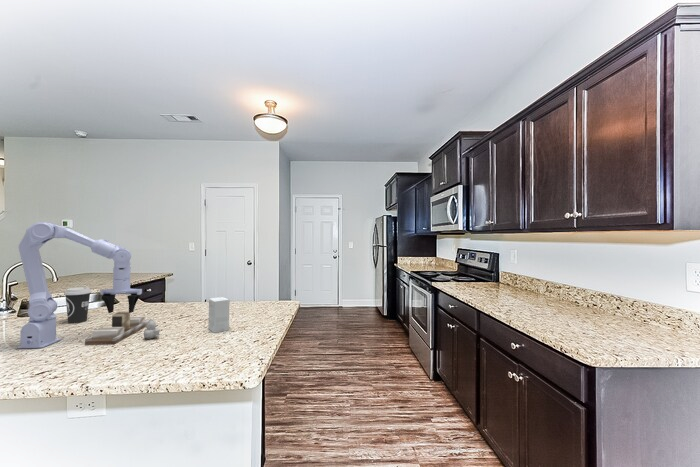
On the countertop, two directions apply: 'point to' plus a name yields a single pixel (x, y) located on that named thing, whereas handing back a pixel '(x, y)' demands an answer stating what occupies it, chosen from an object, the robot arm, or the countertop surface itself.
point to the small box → (218, 314)
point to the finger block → (121, 320)
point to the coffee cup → (77, 304)
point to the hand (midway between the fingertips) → (121, 312)
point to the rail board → (116, 332)
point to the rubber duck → (151, 330)
